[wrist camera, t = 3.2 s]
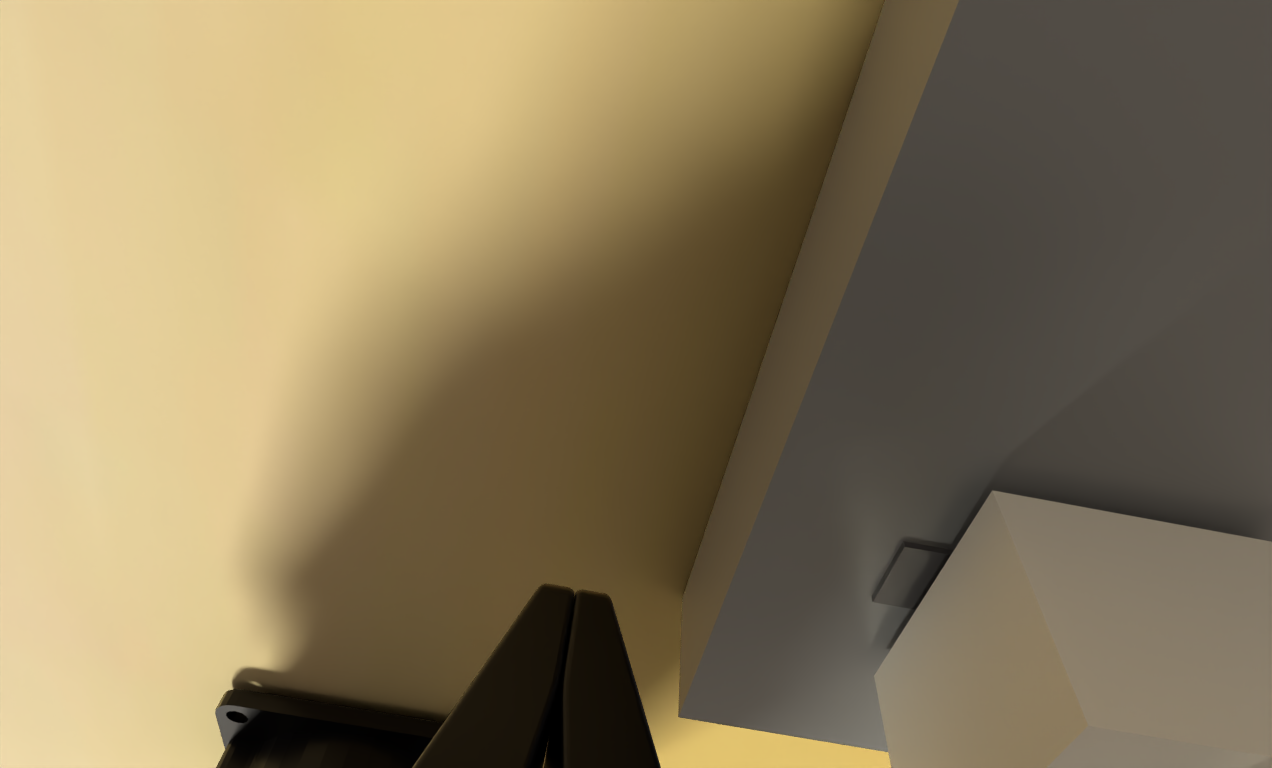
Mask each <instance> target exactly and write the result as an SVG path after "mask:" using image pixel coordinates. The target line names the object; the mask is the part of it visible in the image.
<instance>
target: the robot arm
mask: <svg viewBox="0 0 1272 768" xmlns="http://www.w3.org/2000/svg"><path fill="white" fill-rule="evenodd" d="M215 714H216V718H217V721H218V725H219V728H220V732H221V736H222V739H223V743H224V746H225V751H224V753H223V755H222V757H221V759H220V761H219V763H218V765H217V767H216V768H543V763H544V758H545V753H546V758H545V765H544V768H661V767H660V763H659V760H658V757H657V753H656V750H655V746H654V743H653V740H652V736H651V733H650V729H649V726H648V723H647V719H646V716H645V712H644V709H643V706H642V702H641V699H640V695H639V692H638V688H637V685H636V682H635V678H634V675H633V671H632V668H631V665H630V661H629V658H628V654H627V651H626V648H625V644H624V641H623V637H622V634H621V631H620V627H619V624H618V620H617V617H616V614H615V610H614V607H613V603H612V601H611V599H610V597H609V596H608V595H607V594H605V593H599V592H593V591H587V590H579V591H577V592H576V593H575V597H574V591H573V589H571V588H569V587H564V586H558V585H552V584H543V585H541V586H540V587H539V588H538V589H537V590H536V592H535V593H534V595H533V596H532V597H531V599H530V600H529V602H528V603H527V605H526V606H525V607H524V609H523V610H522V612H521V613H520V615H519V616H518V617H517V619H516V620H515V622H514V623H513V625H512V626H511V627H510V629H509V630H508V632H507V633H506V635H505V636H504V637H503V639H502V640H501V642H500V643H499V645H498V646H497V647H496V649H495V650H494V652H493V653H492V655H491V656H490V657H489V659H488V660H487V662H486V663H485V665H484V666H483V667H482V669H481V670H480V672H479V673H478V675H477V676H476V677H475V679H474V680H473V682H472V683H471V685H470V686H469V687H468V689H467V690H466V692H465V693H464V695H463V696H462V697H461V699H460V700H459V702H458V703H457V704H456V706H455V707H454V709H453V710H452V712H451V713H450V714H449V716H448V717H447V719H446V720H445V722H444V723H442V722H435V721H429V720H423V719H417V718H411V717H405V716H399V715H393V714H387V713H381V712H374V711H368V710H362V709H356V708H350V707H344V706H338V705H332V704H326V703H320V702H313V701H307V700H301V699H295V698H289V697H283V696H277V695H271V694H265V693H259V692H252V691H246V690H236V689H234V690H229V691H227V692H226V693H225V694H224V695H223V697H222V699H221V701H220V703H219V705H218V706H217V708H216V712H215ZM547 744H548V745H547ZM546 748H547V751H546Z"/></svg>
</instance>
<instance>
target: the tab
mask: <svg viewBox="0 0 1272 768" xmlns="http://www.w3.org/2000/svg"><path fill="white" fill-rule="evenodd" d="M874 678H875V683H876V688H877V694H878V699H879V704H880V710H881V715H882V720H883V726H884V731H885V736H886V742H887V747H888V752H889V757H890V763H891V768H1272V542H1271V541H1265V540H1260V539H1255V538H1249V537H1244V536H1238V535H1233V534H1227V533H1222V532H1216V531H1211V530H1206V529H1200V528H1195V527H1189V526H1184V525H1178V524H1173V523H1167V522H1162V521H1157V520H1151V519H1146V518H1140V517H1135V516H1129V515H1124V514H1118V513H1113V512H1108V511H1102V510H1097V509H1091V508H1086V507H1080V506H1075V505H1069V504H1064V503H1059V502H1053V501H1048V500H1042V499H1037V498H1031V497H1026V496H1020V495H1015V494H1010V493H1004V492H999V491H993V490H992V491H991V493H990V495H989V496H988V498H987V499H986V501H985V502H984V504H983V506H982V507H981V509H980V510H979V512H978V513H977V515H976V517H975V518H974V520H973V521H972V523H971V524H970V526H969V528H968V529H967V531H966V532H965V534H964V535H963V537H962V539H961V540H960V542H959V543H958V545H957V546H956V548H955V550H954V551H953V553H952V554H951V556H950V557H949V559H948V561H947V562H946V564H945V565H944V567H943V568H942V570H941V571H940V573H939V575H938V576H937V578H936V579H935V581H934V582H933V584H932V586H931V587H930V589H929V590H928V592H927V593H926V595H925V597H924V598H923V600H922V601H921V603H920V604H919V606H918V608H917V609H916V611H915V612H914V614H913V615H912V617H911V619H910V620H909V622H908V623H907V625H906V626H905V628H904V630H903V631H902V633H901V634H900V636H899V637H898V639H897V641H896V642H895V644H894V645H893V647H892V648H891V650H890V652H889V653H888V655H887V656H886V658H885V659H884V661H883V662H882V664H881V666H880V667H879V669H878V670H877V672H876V673H875V675H874Z"/></svg>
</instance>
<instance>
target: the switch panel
mask: <svg viewBox="0 0 1272 768" xmlns="http://www.w3.org/2000/svg"><path fill="white" fill-rule="evenodd" d="M992 490H993V491H999V492H1004V493H1010V494H1015V495H1020V496H1026V497H1031V498H1037V499H1042V500H1048V501H1053V502H1059V503H1064V504H1069V505H1075V506H1080V507H1086V508H1091V509H1097V510H1102V511H1108V512H1113V513H1118V514H1124V515H1129V516H1135V517H1140V518H1146V519H1151V520H1157V521H1162V522H1167V523H1173V524H1178V525H1184V526H1189V527H1195V528H1200V529H1206V530H1211V531H1216V532H1222V533H1227V534H1233V535H1238V536H1244V537H1249V538H1255V539H1260V540H1265V541H1271V542H1272V0H885V1H884V4H883V7H882V10H881V13H880V16H879V19H878V22H877V25H876V28H875V31H874V34H873V37H872V40H871V43H870V46H869V49H868V52H867V54H866V57H865V60H864V63H863V66H862V69H861V72H860V75H859V78H858V81H857V84H856V87H855V90H854V93H853V96H852V99H851V102H850V105H849V108H848V111H847V113H846V116H845V119H844V122H843V125H842V128H841V131H840V134H839V137H838V140H837V143H836V146H835V149H834V152H833V155H832V158H831V161H830V164H829V167H828V170H827V173H826V175H825V178H824V181H823V184H822V187H821V190H820V193H819V196H818V199H817V202H816V205H815V208H814V211H813V214H812V217H811V220H810V223H809V226H808V229H807V232H806V235H805V237H804V240H803V243H802V246H801V249H800V252H799V255H798V258H797V261H796V264H795V267H794V270H793V273H792V276H791V279H790V282H789V285H788V288H787V291H786V294H785V296H784V299H783V302H782V305H781V308H780V311H779V314H778V317H777V320H776V323H775V326H774V329H773V332H772V335H771V338H770V341H769V344H768V347H767V350H766V353H765V356H764V358H763V361H762V364H761V367H760V370H759V373H758V376H757V379H756V382H755V385H754V388H753V391H752V394H751V397H750V400H749V403H748V406H747V409H746V412H745V415H744V417H743V420H742V423H741V426H740V429H739V432H738V435H737V438H736V441H735V444H734V447H733V450H732V453H731V456H730V459H729V462H728V465H727V468H726V471H725V474H724V477H723V479H722V482H721V485H720V488H719V491H718V494H717V497H716V500H715V503H714V506H713V509H712V512H711V515H710V518H709V521H708V524H707V527H706V530H705V533H704V536H703V539H702V541H701V544H700V547H699V550H698V553H697V556H696V559H695V562H694V565H693V568H692V571H691V574H690V577H689V580H688V583H687V586H686V589H685V592H684V595H683V598H682V621H681V651H680V682H679V712H678V717H680V718H686V719H692V720H698V721H704V722H710V723H716V724H722V725H728V726H734V727H740V728H746V729H752V730H758V731H764V732H770V733H776V734H782V735H788V736H794V737H800V738H806V739H812V740H818V741H825V742H831V743H837V744H843V745H849V746H855V747H861V748H867V749H873V750H879V751H885V752H888V747H887V742H886V736H885V731H884V726H883V720H882V715H881V710H880V704H879V699H878V694H877V688H876V683H875V678H874V675H875V673H876V672H877V670H878V669H879V667H880V666H881V664H882V662H883V661H884V659H885V658H886V656H887V655H888V653H889V652H890V650H891V648H892V647H893V645H894V644H895V642H896V641H897V639H898V637H899V636H900V634H901V633H902V631H903V630H904V628H905V626H906V625H907V623H908V622H909V620H910V619H911V617H912V615H913V614H914V612H915V611H916V609H917V608H918V606H919V604H920V603H921V601H922V600H923V598H924V597H925V595H926V593H927V592H928V590H929V589H930V587H931V586H932V584H933V582H934V581H935V579H936V578H937V576H938V575H939V573H940V571H941V570H942V568H943V567H944V565H945V564H946V562H947V561H948V559H949V557H950V556H951V554H952V553H953V551H954V550H955V548H956V546H957V545H958V543H959V542H960V540H961V539H962V537H963V535H964V534H965V532H966V531H967V529H968V528H969V526H970V524H971V523H972V521H973V520H974V518H975V517H976V515H977V513H978V512H979V510H980V509H981V507H982V506H983V504H984V502H985V501H986V499H987V498H988V496H989V495H990V493H991V491H992Z"/></svg>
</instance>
